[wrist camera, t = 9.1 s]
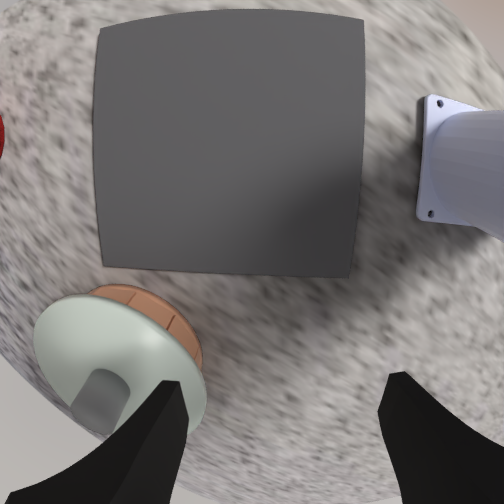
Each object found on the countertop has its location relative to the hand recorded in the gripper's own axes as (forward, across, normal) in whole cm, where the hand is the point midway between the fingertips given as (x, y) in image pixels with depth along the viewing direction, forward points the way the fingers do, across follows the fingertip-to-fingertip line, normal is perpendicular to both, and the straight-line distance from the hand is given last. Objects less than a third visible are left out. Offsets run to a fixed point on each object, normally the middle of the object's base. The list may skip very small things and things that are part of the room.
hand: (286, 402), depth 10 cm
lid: (+7, +11, +6) cm, 14 cm away
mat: (+10, +3, -8) cm, 14 cm away
